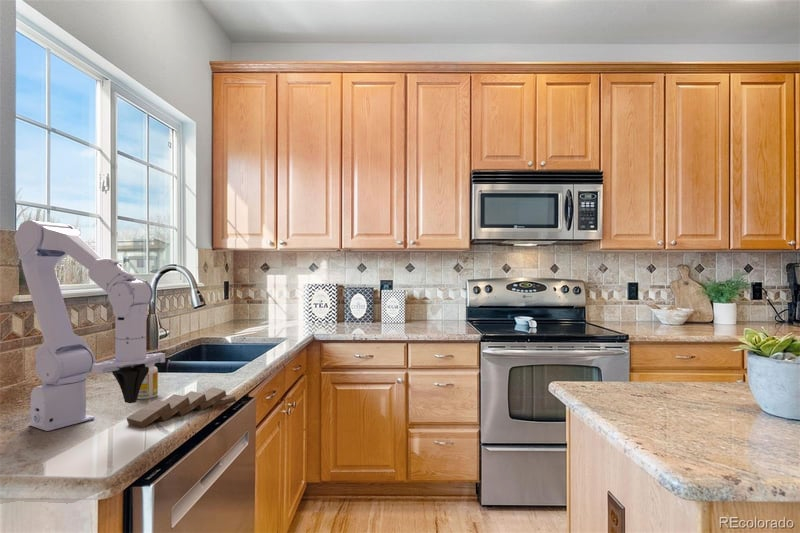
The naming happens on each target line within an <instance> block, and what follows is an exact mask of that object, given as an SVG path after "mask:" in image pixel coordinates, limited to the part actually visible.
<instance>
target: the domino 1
mask: <svg viewBox="0 0 800 533" xmlns="http://www.w3.org/2000/svg"><path fill="white" fill-rule="evenodd" d="M164 401H165V400H163V401H162V400H158V399H154V400H152V401H151V402H149V403H147V404H146V405H144V406H143V407H141V408H139V409H138V410H137V411H135V412H134V413H132V414H130V415H129V416H127V417H126V421H127V424H128V425H130V426H133V427H137V428H141V429H144V428H146V427H147V426H149V425H150V424H152V423H153V422H154V421H157V420H156V419H157V418H159V417H160V416H162V415H163V414H165V413H166V412H168V411H169V410H171V406H170V403H168V402H164Z"/></svg>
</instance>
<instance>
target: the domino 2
mask: <svg viewBox="0 0 800 533" xmlns="http://www.w3.org/2000/svg"><path fill="white" fill-rule="evenodd" d="M163 401H164V402H168V403H170V406H171V410H169V411H168V412H166V413H165V414H163V415H162V416H160V417H159V418H157V419H156V420H155V421H160V422H164V423H165V422H166V421H167V420H169V419H170V418H172V417H173V416H175V415H174V414H176V413H177V412H178V411H180V410H181V409H182V408H184V407H185V406H186V405H188V404H189V403H190V401H189V399H188V397H186V396H184V395H182V394H181V395H180V394H177V393H176V394H175V393H173V394H172V395H171V396H169V397H168V398H166V399H165V400H163Z"/></svg>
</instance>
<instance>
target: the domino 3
mask: <svg viewBox="0 0 800 533" xmlns="http://www.w3.org/2000/svg"><path fill="white" fill-rule="evenodd" d="M202 393H203V392H197V391H191V390H190V391H189V392H187V393H186V394H183V396H186V397H188V399H189V401H190V403H189V404H188V405H186V406H185V407H184V408H182V409H181V410H180V411H178V412H177V413H176V414H174V415H173V416H178V417H184V416H185V415H186V414H188V413H190V412H191V411H192V410H194V409H196V408H195V407H197V406H198V405H200V404H201V403H203V402H204V401H205V400H206V397H205V394H202Z"/></svg>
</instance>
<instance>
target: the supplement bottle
mask: <svg viewBox="0 0 800 533" xmlns="http://www.w3.org/2000/svg"><path fill="white" fill-rule="evenodd" d="M155 365H156V363H153V364H148V365H145V367H149V372H148V374H147V375H146V377H145V378H144V380H143V382H142V385H141V387H140V390H139V394H138V397H137V400H148V399H152V398H155V397H158V390H159V388H158V386H159V384H158V383H159V381H158V380H159V376H158V375H159V373H158V372H159V371H158V367H157V366H155Z"/></svg>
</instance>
